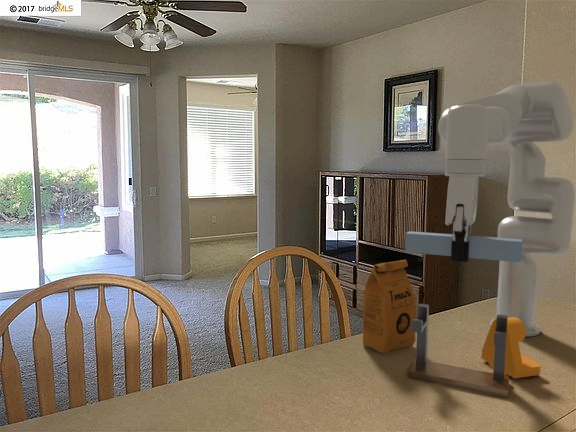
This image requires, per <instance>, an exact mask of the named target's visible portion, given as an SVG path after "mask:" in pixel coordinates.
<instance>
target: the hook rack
mask: <svg viewBox="0 0 576 432" xmlns="http://www.w3.org/2000/svg"><path fill="white" fill-rule="evenodd" d="M429 309H430V305H429V304H426V303H419V304H418V305H417V319H416V318H415V319H413V320H412V332H415V333H416V344H415V345H416V348H415V351H416V352H415V358H413V360H412V362H411V364H410V365H409V366H408V368H407V370H406V377H407V378H409V379H416V380H419V381H424V382H430V383H434V384H438V385H444V386H449V387H454V388H458V389H461V390H462V389H464V390H469V391H472V392H476V393H477V392H478V393H483V394H488V395H492V396H497V397H501V398H502V397H503V398H507V399H508V397H509V388H510V387H509V386H510V376H504V369H505V353H506V336H507V319H508V316H506V315H499V314H497V313H496V317H497V319H496V331H495V332H494V345H495V354H494V369H493V372H488V371H483V370H478V369H471V368H466V367H461V366H455V365H451V364H445V363H441V362H440V363H439V362H434V361H430V360H429V361H428V335H429V315H430V313H429V311H430V310H429Z"/></svg>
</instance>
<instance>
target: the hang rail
mask: <svg viewBox="0 0 576 432" xmlns="http://www.w3.org/2000/svg"><path fill="white" fill-rule="evenodd" d="M452 241H453V233H451V234H450V233H437V232H426V231H425V232H424V231H423V232H422V231H410V230H409V231H407V232H405V241H404V243H405V247H404V253H413V254H423V255H424V254H425V255H433V256H434V255H435V256H437V255H438V256H446V257H451V249H452ZM467 242H469V255H468V259H478V260H489V261H499V262H500V261H510V262H521V252H522V239H511V238H498V237H494V236H482V235H481V236H479V235H471V236H468V241H467Z"/></svg>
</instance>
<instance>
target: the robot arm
mask: <svg viewBox="0 0 576 432" xmlns="http://www.w3.org/2000/svg"><path fill="white" fill-rule="evenodd" d="M574 122H575V121H574V115H573V112H572V109H571V106H570V103H569V99H568V96H567V94H566V91H565V89H564V88H563V86H562V85H561V84H560V83H558V82H555V81H550V80H549V81H542V82H541V81H540V82H529V83H527V82H526V83H517V84H514V85H510V86H508V87H506V88H504V89H502V90H500V91H499V92H497V93H494V94H490V95H486V96H483V97H479V98H475V99H471V100H467V101H464V102H460V103H456V104H454V105H452V106H450V107H448V108H446V109H445V111H443V113H442V114H441V115H440V118H439V121H438V123H437V124H438V125H437V130H438V134H439V137H440V138H441V140H442V141H443V142H444V143H446V144H445V165H444V166H445V167H444V168H445V169H444V176H445V177H449V179H448V185H447V192H446V193H447V195H446V206H445V207H446V208H445V221H444V225H446V226H448V227H449V226H450V225H452V224H453V225H452V227H453V228H452V234H453V241H452V249H451V256H450V260H451V261H454V262H462V263H467V262H469V258H468V255H469V242H467V241H468V236H472V226H473V224H474V223H475V222H476V218H477V217H476V216H477V208H478V195H479V177H486V166H487V165H486V163H487V162H486V161H487V145H488V144H498V143H500V142H501V143H502V142H503V141H504V143H505V146H506V148H507V152H508V154H509V157H510V158H509V159H510V166H509V168H510V169H509V178H508V185H507V186H508V187H507V204H508V206H509V208H510V209H512V210H514V211H518V212H527V213H528V212H529V213H542V214H549V215H551V217H552V218H547V217H546V218H545V217H536V216H524V215H523V216H522V215H513V216H512V215H511V216H507V217H505V218H503V219H502V220H501V221H500V222H499V223H498V227H497V238H511V239H522V252H521V262H510V261H499V264H498V265H499V269H498V270H499V271H498V285H497V287H498V288H497V300H496V303H497V304H496V315H497V314H499V315H506V316H508V318H512V317H516V318H519V319H520V320H521V321H522V322H523V324H524V326H525V330H526V335H525V338H526V337H535V336H537V335H539V334H541V333H540V332H541V327H540V326H539V325H538V324H536V323H535V317H536V316H535V315H536V299H537V286H538V285H537V284H538V266H537V264H536V262H535V260H534V258H533V257H532V256H531V254H540V255H547V256H557V257H558V256H564V255H565V254H566V253H567V252H568V251H569V248H570V245H571V239H572V231H573V230H572V229H573V223H574V222H573V220H574V211H575V198H576V197H575V196H576V192H575V187H574V184H573V182H572V181H571V180H570V179H568V178H565V177H555V176H554V177H551V176H546V175H545V172H546V161H547V159H546V156H545V154H544V153H543V151H542V150H541V149H540V148H539V146H538V145H537V143H541V142H544V143H546V142H562V141H565V140H568V138H570V136H571V135H572V133H573V130H574ZM535 142H536V143H535ZM495 319H497V316H496V317H495V318H492V319H491V320H490V321H489V326H490V327H491V325H492V322H493V321H494V320H495Z"/></svg>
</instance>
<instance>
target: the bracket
mask: <svg viewBox="0 0 576 432" xmlns="http://www.w3.org/2000/svg"><path fill="white" fill-rule="evenodd" d="M494 319H495V318H494ZM495 331H496V319H495V320H494V321H493V322H492V325H491V326H490V328H489V329H488V333H487V335H486V339H485V341H484V344H483V346H482V349H481V357H480V358H481V359H482V360H484V361H486V362H487V363H488V367H489V368H492V369H493V370H494V354H495V345H494V332H495ZM525 335H526V330H525V326H524V324H523V322H522V321H521V320H520V319H519V318H516V317H512V318H508V319H507V336H506V353H505V369H504V376H509V377H512V378H513V379H520V378H527V377H532V376H538V375H541V367H542V366H541V364H540V363H538V362H536V361H534V360H532V359H530V358H529V357H526V356H525V355H523V354H522V353H521V349H520V344H519V342H520V343H521V342H523V341H524V340H525V338H526V337H525Z"/></svg>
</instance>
